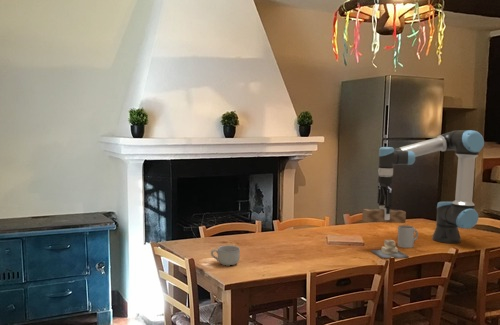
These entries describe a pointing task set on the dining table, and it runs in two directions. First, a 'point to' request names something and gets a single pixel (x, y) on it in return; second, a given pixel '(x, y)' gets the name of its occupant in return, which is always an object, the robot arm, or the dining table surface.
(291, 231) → the dining table surface
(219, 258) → the teacup
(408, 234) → the mug
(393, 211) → the beam
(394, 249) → the fulcrum
